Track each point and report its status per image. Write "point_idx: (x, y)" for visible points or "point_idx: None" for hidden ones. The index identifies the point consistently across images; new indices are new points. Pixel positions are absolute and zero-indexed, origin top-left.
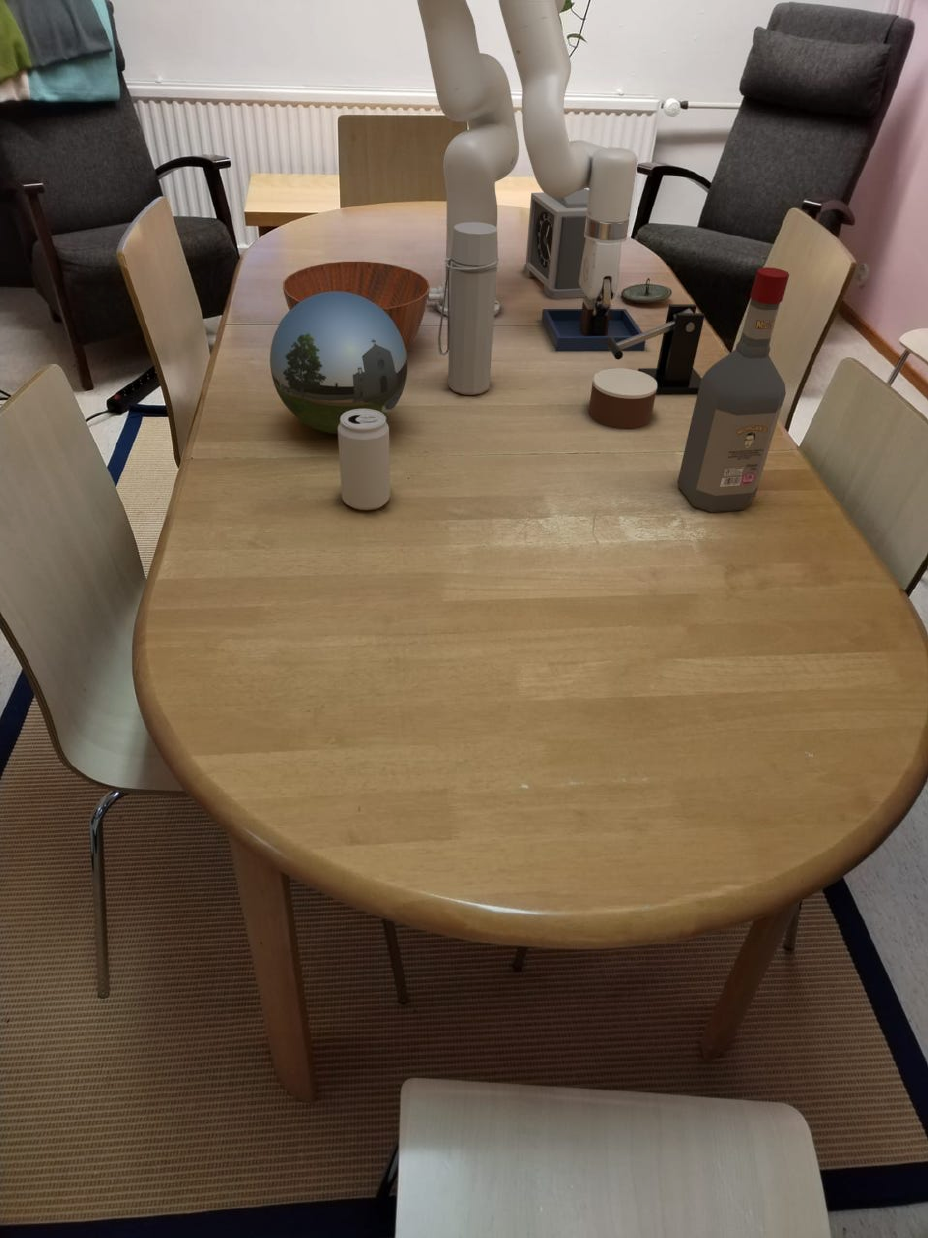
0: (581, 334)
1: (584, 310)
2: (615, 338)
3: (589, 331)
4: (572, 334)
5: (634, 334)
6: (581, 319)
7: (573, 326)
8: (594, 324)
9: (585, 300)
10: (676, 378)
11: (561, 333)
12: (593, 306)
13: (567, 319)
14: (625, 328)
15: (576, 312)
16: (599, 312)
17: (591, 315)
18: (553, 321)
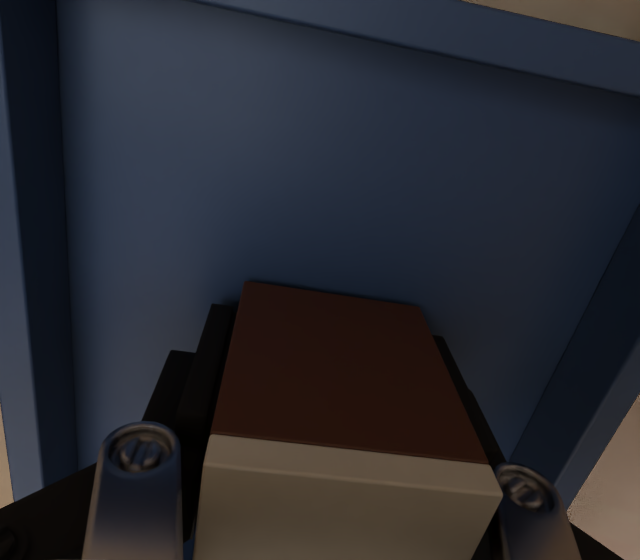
0: (313, 277)
1: (351, 403)
2: (9, 437)
3: (206, 323)
4: (327, 211)
5: (191, 545)
6: (405, 342)
7: (476, 278)
8: (174, 386)
9: (410, 492)
10: None
11: (370, 127)
12: (143, 508)
13: (604, 281)
14: None
15: (605, 367)
16: (27, 504)
17: (176, 416)
18: (635, 162)
